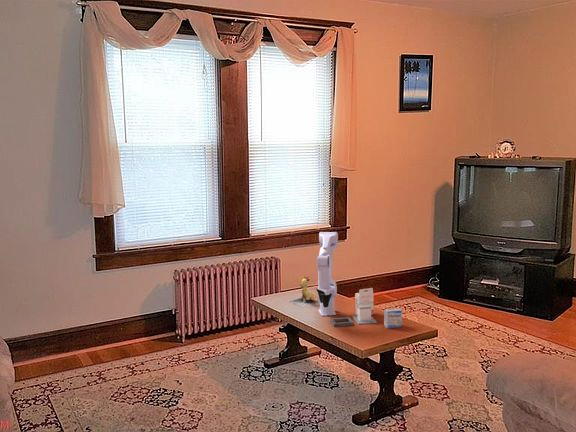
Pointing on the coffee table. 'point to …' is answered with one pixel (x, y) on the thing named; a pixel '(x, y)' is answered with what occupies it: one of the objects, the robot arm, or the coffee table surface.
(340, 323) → the holder
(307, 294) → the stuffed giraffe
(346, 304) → the coffee table surface
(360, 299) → the ink cartridge box
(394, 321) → the medicine box
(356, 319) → the slate board
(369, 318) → the plug
